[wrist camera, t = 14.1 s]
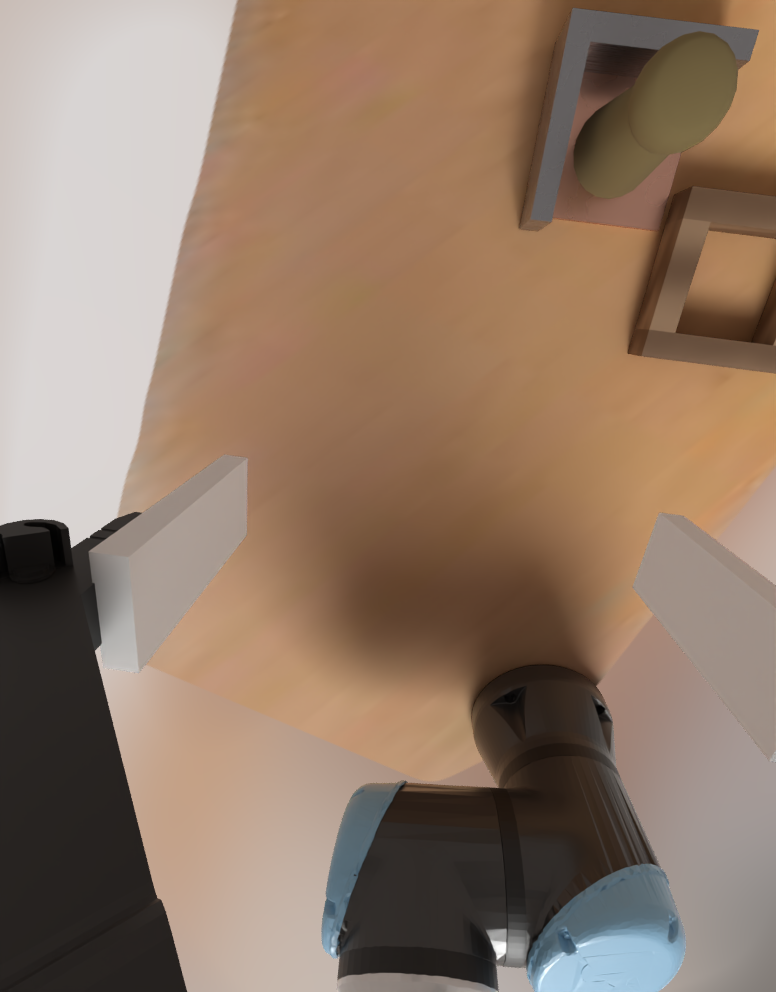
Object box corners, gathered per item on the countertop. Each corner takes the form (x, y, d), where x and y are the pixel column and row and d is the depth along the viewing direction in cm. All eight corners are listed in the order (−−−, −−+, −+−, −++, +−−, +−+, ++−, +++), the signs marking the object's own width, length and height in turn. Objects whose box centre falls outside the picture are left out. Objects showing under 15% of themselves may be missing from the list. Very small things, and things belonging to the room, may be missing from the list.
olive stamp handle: (616, 79, 33) (704, -26, 23) (676, 139, 34) (787, 63, 24) (555, 162, 35) (612, 100, 25) (614, 216, 36) (692, 178, 26)
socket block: (765, 371, 40) (788, 375, 37) (627, 353, 40) (641, 356, 37) (828, 214, 36) (858, 206, 33) (674, 194, 36) (692, 186, 33)
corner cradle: (665, 247, 37) (693, 239, 33) (519, 229, 37) (530, 219, 33) (720, 62, 33) (759, 29, 29) (555, 42, 33) (572, 7, 29)
